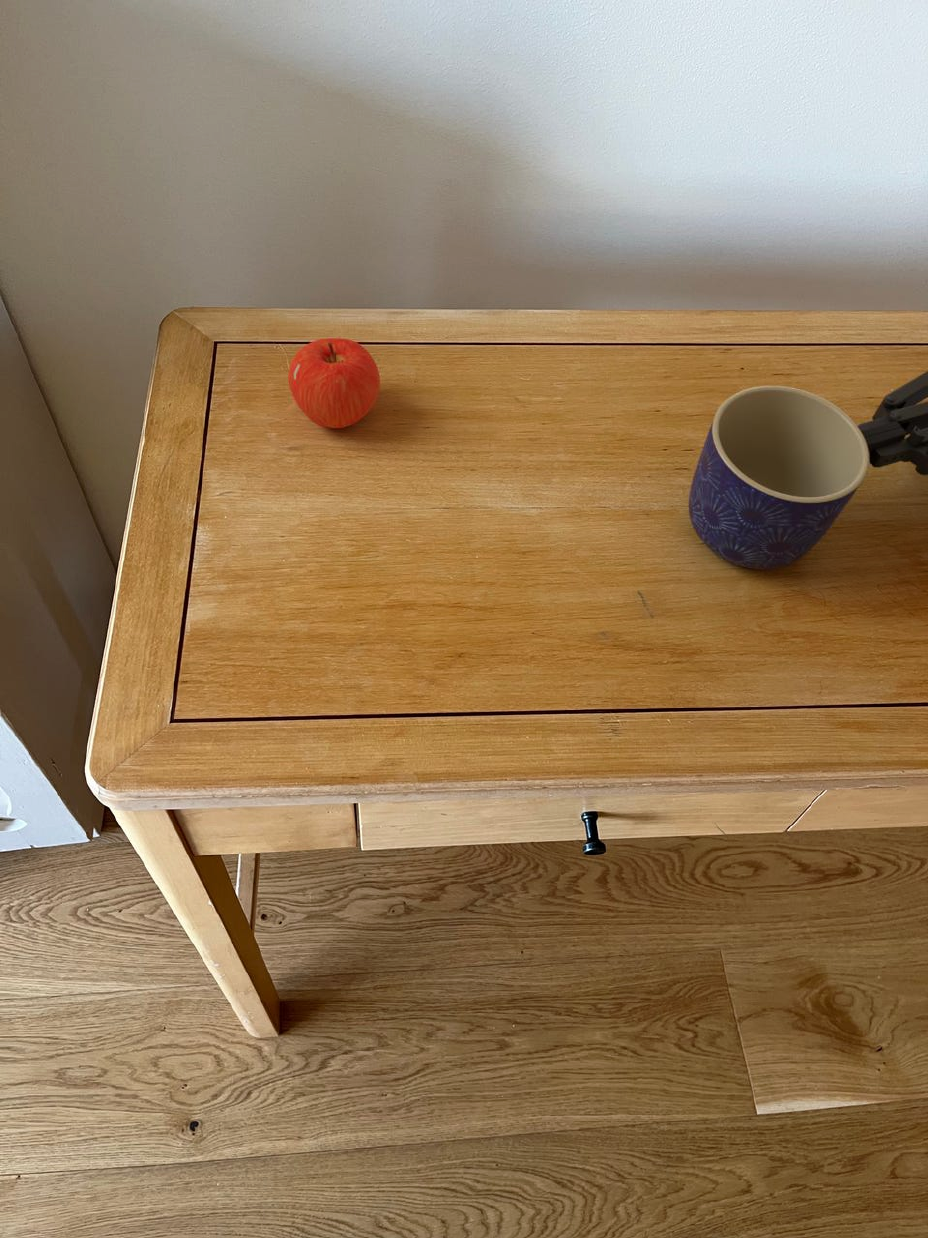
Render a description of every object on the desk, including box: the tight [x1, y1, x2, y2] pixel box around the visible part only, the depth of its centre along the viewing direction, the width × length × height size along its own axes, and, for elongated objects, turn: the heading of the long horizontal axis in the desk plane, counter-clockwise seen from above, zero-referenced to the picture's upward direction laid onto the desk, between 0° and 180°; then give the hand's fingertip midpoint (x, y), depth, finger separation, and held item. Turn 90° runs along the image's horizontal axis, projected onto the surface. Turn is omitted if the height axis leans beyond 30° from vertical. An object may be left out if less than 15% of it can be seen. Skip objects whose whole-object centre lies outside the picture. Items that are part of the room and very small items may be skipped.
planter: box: [688, 385, 870, 570], centre depth 77 cm, size 12×12×11 cm
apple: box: [287, 337, 381, 429], centre depth 82 cm, size 8×8×8 cm
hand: (832, 456), depth 78 cm, fingers closed
